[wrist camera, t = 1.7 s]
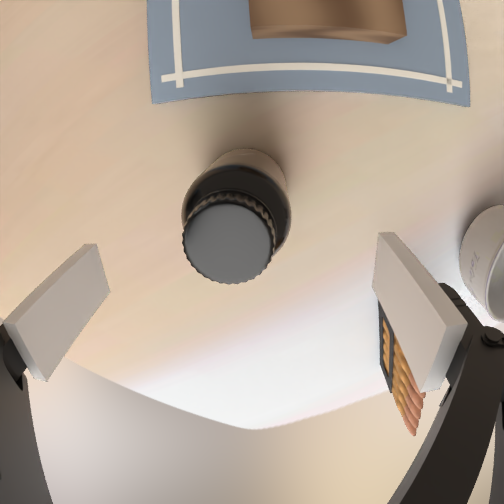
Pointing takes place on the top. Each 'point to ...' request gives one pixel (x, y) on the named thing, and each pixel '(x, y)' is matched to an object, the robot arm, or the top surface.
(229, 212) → the supplement bottle
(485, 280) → the teacup
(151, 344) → the top surface
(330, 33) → the walnut plinth
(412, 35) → the board
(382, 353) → the ammunition clip
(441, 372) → the robot arm
